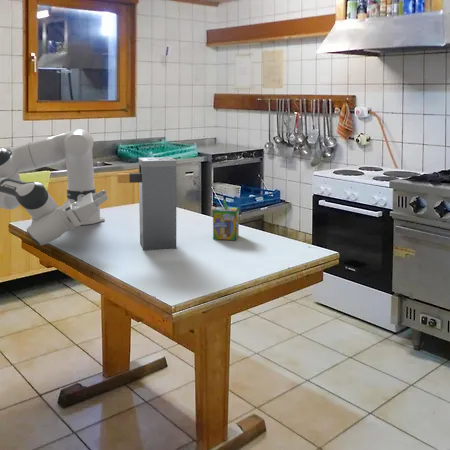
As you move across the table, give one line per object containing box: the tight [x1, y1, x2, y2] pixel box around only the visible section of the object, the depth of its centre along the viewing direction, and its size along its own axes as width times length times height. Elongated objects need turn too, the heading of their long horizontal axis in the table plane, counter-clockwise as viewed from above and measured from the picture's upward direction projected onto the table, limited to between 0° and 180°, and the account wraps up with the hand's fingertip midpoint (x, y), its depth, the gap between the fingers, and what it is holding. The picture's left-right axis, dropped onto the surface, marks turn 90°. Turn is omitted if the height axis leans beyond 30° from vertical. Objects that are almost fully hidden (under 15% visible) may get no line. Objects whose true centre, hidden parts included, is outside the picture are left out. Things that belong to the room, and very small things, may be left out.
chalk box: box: [212, 199, 240, 241], centre depth 226 cm, size 9×9×15 cm
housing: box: [138, 156, 177, 251], centre depth 210 cm, size 10×12×32 cm
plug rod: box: [116, 172, 141, 184], centre depth 207 cm, size 3×18×3 cm, turn 105°
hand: (106, 193), depth 204 cm, fingers open, 8 cm apart
